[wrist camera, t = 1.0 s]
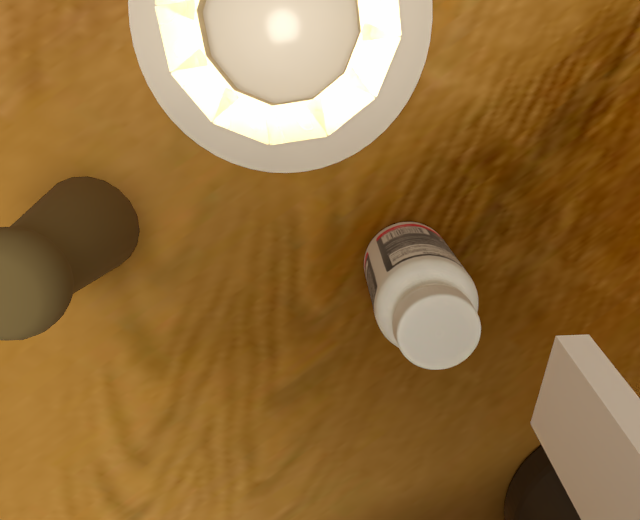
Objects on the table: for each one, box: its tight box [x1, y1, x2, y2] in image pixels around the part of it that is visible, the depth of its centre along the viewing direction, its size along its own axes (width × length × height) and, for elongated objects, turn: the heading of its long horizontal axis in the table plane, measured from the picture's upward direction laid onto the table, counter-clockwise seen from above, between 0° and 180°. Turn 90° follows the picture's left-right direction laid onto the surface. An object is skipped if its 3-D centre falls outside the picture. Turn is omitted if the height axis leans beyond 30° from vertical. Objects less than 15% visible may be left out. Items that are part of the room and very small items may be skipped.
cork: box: [0, 177, 139, 340], centre depth 28 cm, size 6×6×11 cm
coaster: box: [128, 0, 432, 173], centre depth 29 cm, size 16×16×1 cm
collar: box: [155, 0, 401, 145], centre depth 28 cm, size 12×12×2 cm
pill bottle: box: [364, 222, 481, 370], centre depth 30 cm, size 5×5×10 cm
